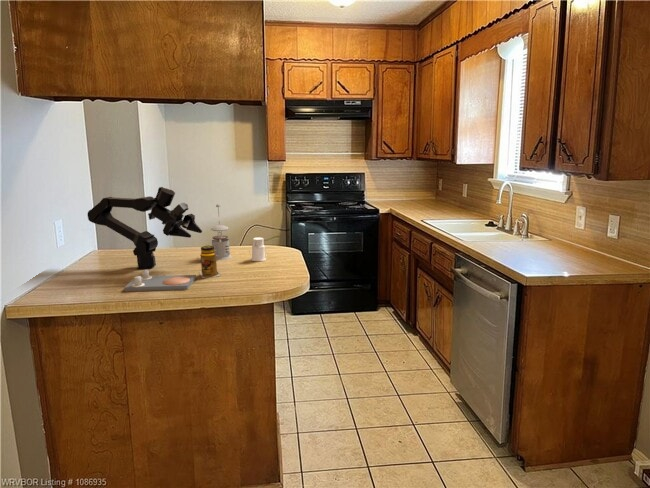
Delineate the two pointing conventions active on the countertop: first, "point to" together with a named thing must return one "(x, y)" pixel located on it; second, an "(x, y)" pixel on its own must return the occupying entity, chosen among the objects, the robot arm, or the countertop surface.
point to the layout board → (160, 282)
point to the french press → (223, 246)
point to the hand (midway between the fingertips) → (196, 234)
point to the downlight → (258, 250)
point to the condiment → (208, 262)
